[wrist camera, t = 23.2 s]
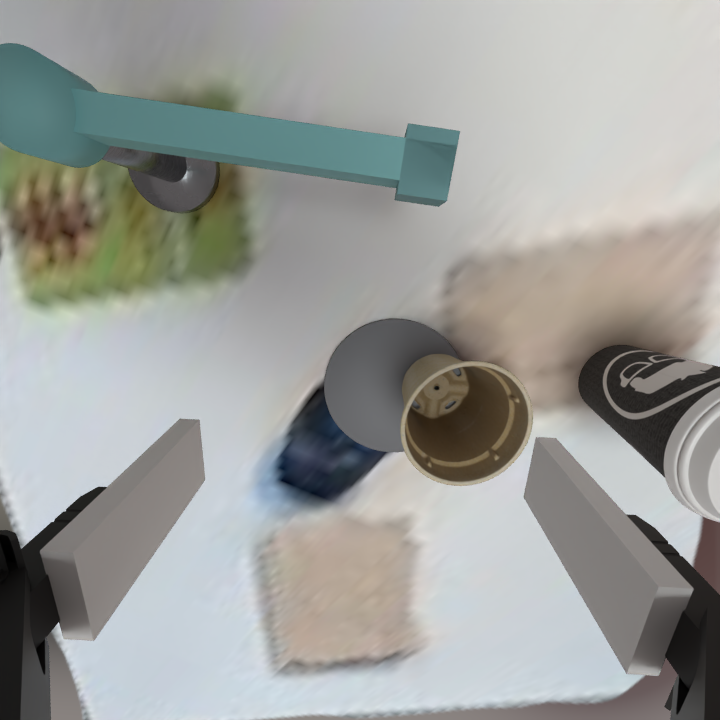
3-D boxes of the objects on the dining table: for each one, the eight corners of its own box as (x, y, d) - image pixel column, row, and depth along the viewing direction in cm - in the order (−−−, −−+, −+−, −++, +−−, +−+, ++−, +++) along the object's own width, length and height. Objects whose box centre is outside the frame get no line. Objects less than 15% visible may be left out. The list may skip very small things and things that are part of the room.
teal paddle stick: (34, 161, 21) (-20, 146, 18) (26, 67, 20) (-34, 36, 17) (435, 220, 21) (445, 215, 18) (452, 131, 20) (465, 110, 17)
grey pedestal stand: (129, 116, 30) (-2, 44, 20) (217, 120, 30) (132, 49, 20) (139, 210, 32) (24, 191, 22) (221, 214, 32) (146, 196, 21)
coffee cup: (543, 409, 36) (657, 515, 21) (592, 313, 33) (760, 360, 19) (635, 440, 36) (808, 564, 22) (691, 348, 34) (928, 420, 19)
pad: (326, 315, 34) (325, 315, 34) (472, 322, 34) (473, 323, 33) (323, 445, 38) (322, 447, 37) (455, 454, 37) (456, 456, 37)
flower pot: (505, 362, 35) (559, 396, 26) (454, 447, 37) (489, 504, 28) (415, 317, 33) (443, 338, 25) (367, 409, 35) (377, 457, 27)
